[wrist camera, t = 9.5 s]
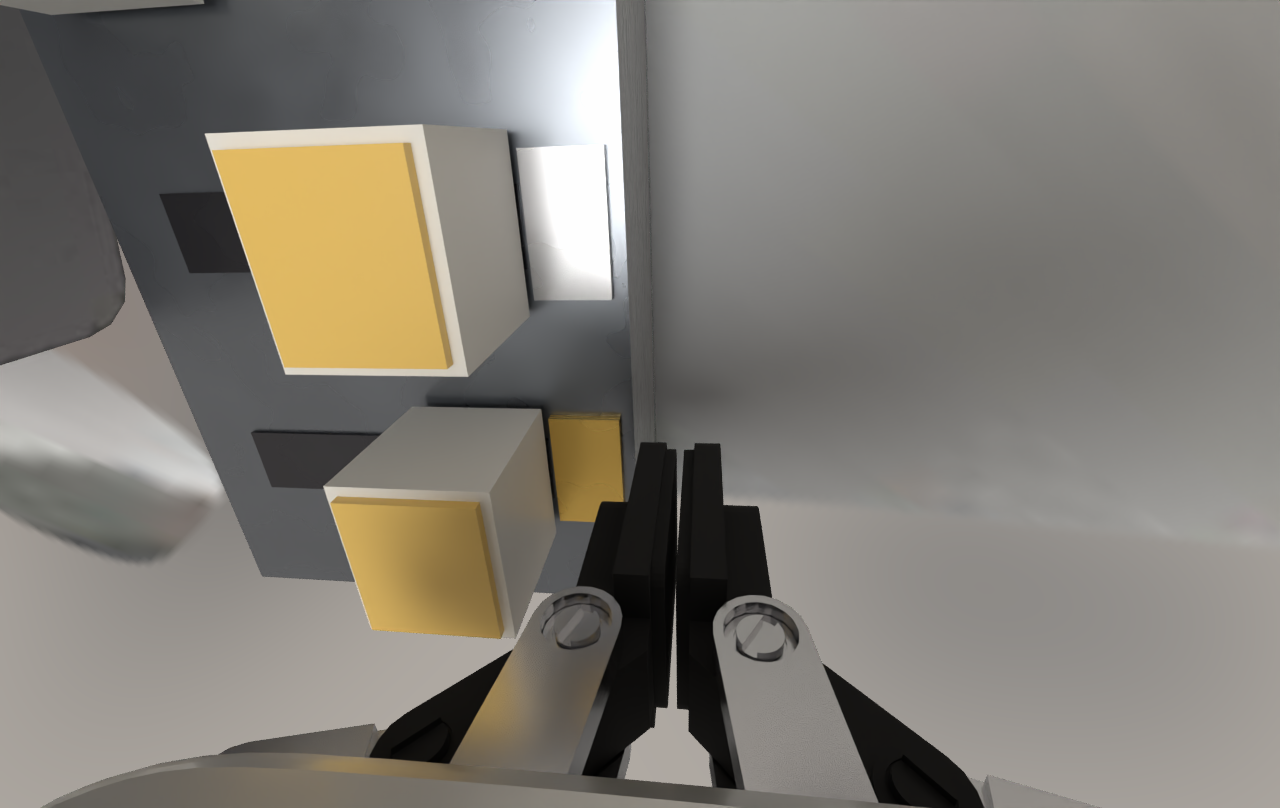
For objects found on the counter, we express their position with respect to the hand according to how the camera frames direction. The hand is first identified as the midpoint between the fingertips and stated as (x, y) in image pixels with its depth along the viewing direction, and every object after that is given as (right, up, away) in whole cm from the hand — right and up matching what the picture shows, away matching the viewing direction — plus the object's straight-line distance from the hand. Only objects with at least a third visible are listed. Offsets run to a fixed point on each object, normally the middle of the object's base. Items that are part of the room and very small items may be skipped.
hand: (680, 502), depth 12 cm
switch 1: (-5, +5, -1) cm, 7 cm away
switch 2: (-5, 0, +1) cm, 5 cm away
